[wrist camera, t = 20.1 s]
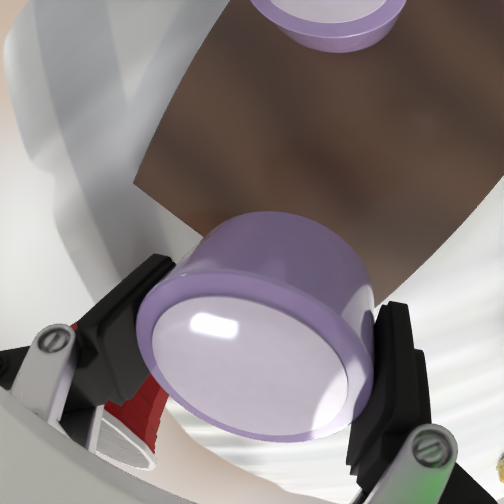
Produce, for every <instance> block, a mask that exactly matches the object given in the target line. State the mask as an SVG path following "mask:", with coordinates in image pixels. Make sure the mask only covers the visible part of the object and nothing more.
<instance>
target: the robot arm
mask: <svg viewBox="0 0 504 504" xmlns="http://www.w3.org/2000/svg"><path fill="white" fill-rule="evenodd" d="M175 265H176V264H175V263H174V262H172V259H171V258H170V257H168V256H163V255H159V254H153V255H151V256H150V257H149V258H148V259H147V260H146V261H144V262H143V263H142V264H141V265H140V266H139V267H137V268H136V269H135V270H134V271H133V272H132V273H131V274H129V275H128V276H127V277H126V278H125V279H124V280H123V281H121V282H120V283H119V284H118V285H117V286H116V287H115V288H114V289H112V290H111V291H110V292H109V293H108V294H107V295H106V296H105V297H104V298H102V299H101V300H100V301H99V302H98V303H97V304H96V305H95V306H94V307H93V308H92V309H91V310H89V311H88V312H87V313H86V314H85V315H84V316H83V317H82V318H81V319H80V320H79V321H78V322H76V324H77V326H78V328H77V329H76V330H73V329H72V327H70V326H68V325H66V324H53V325H50V326H47V327H46V328H44V329H42V330H41V331H40V332H39V333H38V334H37V336H36V337H35V339H34V341H33V342H32V345H31V346H26V347H20V348H15V349H9V350H4V351H0V504H197V503H194V502H192V501H189V500H187V499H184V498H181V497H179V496H176V495H174V494H172V493H169V492H167V491H165V490H162V489H160V488H158V487H156V486H154V485H151V484H149V483H147V482H145V481H143V480H141V479H139V478H137V477H135V476H133V475H131V474H129V473H127V472H125V471H123V470H121V469H119V468H118V467H116V466H114V465H112V464H110V463H109V462H107V461H105V460H103V459H101V458H100V457H98V456H96V455H95V452H96V446H97V441H98V435H99V429H100V424H101V419H102V414H103V409H104V405H105V403H106V402H107V401H108V399H109V400H110V401H111V402H113V403H115V404H117V405H119V406H123V404H124V403H125V401H126V400H131V399H132V398H133V397H134V395H135V394H136V392H137V391H138V390H139V388H140V387H141V386H142V384H143V383H144V381H145V380H146V379H147V377H148V376H149V374H150V371H149V369H148V368H147V366H146V364H145V362H144V360H143V358H142V356H141V353H140V350H139V347H138V343H137V338H136V319H137V313H138V310H139V308H140V305H141V303H142V301H143V299H144V298H145V296H146V294H147V293H148V292H149V291H150V290H151V289H152V288H153V287H154V286H155V285H156V284H157V283H158V282H159V281H160V280H161V279H162V278H163V277H164V276H165V275H166V274H167V273H168V272H169V271H170V270H171V269H172V268H173V267H174V266H175ZM457 454H458V446H457V442H456V440H455V438H454V436H453V435H452V434H451V432H450V431H449V430H447V429H446V428H444V427H443V426H440V425H437V424H432V422H431V408H430V397H429V387H428V379H427V371H426V363H425V356H424V352H423V351H422V350H418V349H414V343H413V335H412V328H411V322H410V316H409V310H408V305H407V304H404V303H399V302H393V301H389V303H388V305H382V306H381V308H380V311H379V314H378V317H377V319H376V322H375V372H374V386H373V391H372V395H371V397H370V399H369V401H368V403H367V405H366V407H365V409H364V410H363V412H362V413H361V414H360V415H359V416H358V417H357V418H356V419H355V420H354V421H353V422H352V424H351V431H350V438H349V445H348V451H347V457H346V465H350V466H351V470H350V475H355V476H357V481H356V483H357V484H358V485H359V486H360V487H361V489H360V490H359V491H358V493H357V494H356V496H355V497H354V498H353V500H352V501H351V502H350V504H498V503H497V502H496V500H495V499H494V498H493V497H492V496H491V495H490V494H489V493H488V492H487V491H486V490H484V489H483V488H482V487H481V486H480V485H479V484H478V483H477V482H476V481H475V480H474V479H473V478H472V477H471V476H470V475H469V474H468V473H467V472H466V471H465V470H464V469H463V468H462V467H460V466H459V465H458V464H457V463H456V459H457Z"/></svg>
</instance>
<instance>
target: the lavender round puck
mask: <svg viewBox="0 0 504 504" xmlns="http://www.w3.org/2000/svg"><path fill="white" fill-rule="evenodd" d="M136 338H137V343H138V347H139V350H140V353H141V356H142V358H143V360H144V362H145V364H146V366H147V368H148V369H149V371H150V373H151V374H152V376H153V377H154V378H155V380H156V381H157V382H158V384H159V385H160V386H161V387H162V388H163V389H164V390H165V391H166V392H167V393H168V394H169V395H170V396H171V397H172V398H173V399H174V400H175V401H176V402H177V403H179V404H180V405H181V406H183V407H184V408H185V409H186V410H188V411H189V412H191V413H192V414H194V415H195V416H197V417H199V418H200V419H202V420H204V421H206V422H207V423H210V424H212V425H214V426H216V427H218V428H220V429H223V430H225V431H228V432H230V433H233V434H236V435H239V436H243V437H247V438H251V439H256V440H261V441H268V442H282V443H292V442H304V441H310V440H315V439H319V438H323V437H326V436H329V435H331V434H334V433H336V432H338V431H340V430H342V429H343V428H345V427H347V426H348V425H349V424H351V423H352V422H353V421H354V420H355V419H356V418H357V417H358V416H359V415H360V414H361V413H362V412H363V410H364V409H365V407H366V405H367V403H368V401H369V399H370V397H371V395H372V391H373V386H374V372H375V311H374V293H373V287H372V283H371V279H370V277H369V274H368V272H367V269H366V267H365V266H364V264H363V262H362V261H361V259H360V257H359V256H358V255H357V254H356V252H355V251H354V250H353V249H352V248H351V246H350V245H349V244H348V243H346V242H345V241H344V240H343V239H342V238H341V237H340V236H339V235H337V234H336V233H334V232H333V231H331V230H330V229H328V228H327V227H325V226H323V225H321V224H319V223H317V222H315V221H313V220H310V219H307V218H305V217H302V216H299V215H294V214H290V213H285V212H275V211H262V212H253V213H247V214H242V215H239V216H236V217H233V218H231V219H229V220H227V221H225V222H223V223H221V224H219V225H218V226H217V227H215V228H214V229H212V230H211V231H210V232H209V233H208V234H207V235H206V236H205V237H204V238H203V239H202V240H201V241H200V242H199V243H198V244H197V245H196V246H194V247H193V248H192V249H191V250H190V251H189V252H188V253H187V254H186V255H185V256H184V257H183V258H182V259H181V260H180V261H179V262H178V263H177V264H176V265H175V266H174V267H173V268H172V269H171V270H170V271H169V272H168V273H167V274H166V275H165V276H164V277H163V278H162V279H161V280H160V281H159V282H158V283H157V284H156V285H155V286H154V287H153V288H152V289H151V290H150V291H149V292H148V293H147V294H146V296H145V298H144V299H143V301H142V303H141V305H140V308H139V310H138V313H137V319H136Z"/></svg>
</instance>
